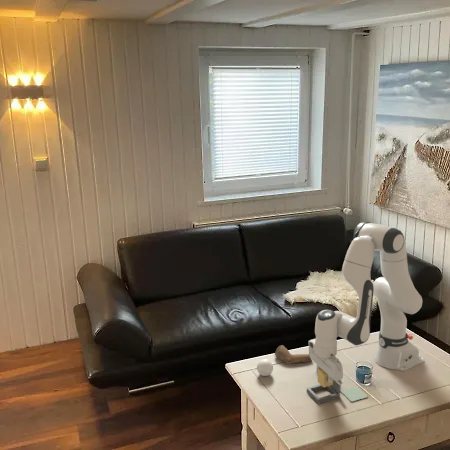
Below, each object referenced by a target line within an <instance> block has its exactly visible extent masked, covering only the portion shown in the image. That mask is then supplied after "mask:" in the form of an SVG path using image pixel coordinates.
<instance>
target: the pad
mask: <svg viewBox="0 0 450 450" xmlns="http://www.w3.org/2000/svg"><path fill="white" fill-rule="evenodd" d="M340 394H342V395H343V396H344V397H345V396H346V397H347V398H346V397H345V398H346V399H347V400H349V402H350V403H354V402H357V400H358V401H360V399H361V400H364V398H365V399H368V398H367V397H368V396H367V395H366V394H365V393H364V391H362V390H361V389H360V388H359V387H358V386H352V387H350V388H345V389H340Z"/></svg>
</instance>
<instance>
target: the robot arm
mask: <svg viewBox="0 0 450 450" xmlns="http://www.w3.org/2000/svg"><path fill="white" fill-rule="evenodd" d="M353 231H354V232H353V240H351V242H350V245H349V247H348V249H347V251H346V254H345V257H344V261H343V264H342V268H341V273H342V277H343V279H344V280H345V281H346V282H347V284H348V285H349V286H351V288H352V289H353V290H354V291H355V292H356V294H357V297H358V303H357V312H356V316H355V317H354V316H351V315H350V314H348V313H345V312H342V311H340V310H335V311H333V309H323V310H321V311H319V312H318V313H317V315H316V318H315V323H314V324H315V326H314V334H315V338H313V339H310V340H308V354H309V356H310V358H311V361H313V362H314V363H315V364H316V368H317V367H318V369H320V368H321V369H322V370H323V371H325V372H326V373H327V374H328V376H329V377H328V378H327V382H328V383H331V382H332V379H333V380H334V381H338V382H339V381H340V380H343V377H344V376H343V375H344V371H343V369H344V368H343V365H342V362H341V360H339V358H338V357H337V353H338V340H337V338H338V337H339V338H341V339H344V340H346V341H347V342H349V343H350V344H352V345H354V346H360V345H363V344H365V343H366V342H367V341H368V340H369V338H370V334H371V315H372V307H373V300H374V297H375V299H376V301H377V305H378V307H379V311H380V330H379V334H378V345H377V349H376V352H375V355H374V361H375V362H376V364H378V365H379V366H381V367H383V368H387V369H390V370H398V371H400V372H406V371H407V370H410V369H411V368H414V367H416V366H418V365H420V364H422V363H424V362H425V360H424V357H423V356H422V355H421V354H420V351H419V350H420V349H419V347H417V345H416V344H415V343H413V342H412V341H411V340H413V338H414V337H413V335H412V334H408V333H407V325H408V323H407V322H408V320H407V317H406V314H409V315H414V314H416V313H417V312H419V311H420V309H421V308H422V306H423V298H422V295H421V294H420V293H419V292H418V290H417V289H416V288H415V286H414V283H413V280H412V278H411V275H410V272H409V266H408V254H407V247H406V243H405V236H404V233H403V232H402V231H401V230H400V229H398V228H395V227H392V226H389V225H385V224H382V223H380V224H379V223H373V222H369V221H362V222H360V223H358V224H357V226H355V228H354V230H353ZM376 251H377V252H379V258H380V259H379V260H380V270H381V271H380V272H381V274H382V276H380V277H378V278H376V279H375V280H374V282H372V279H371V271H372V266H373V263H374V257H375V253H376Z"/></svg>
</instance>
